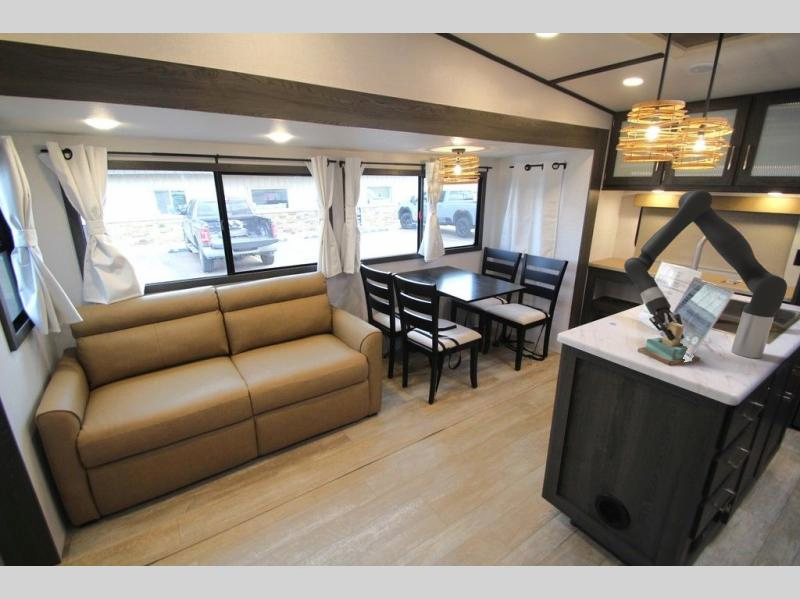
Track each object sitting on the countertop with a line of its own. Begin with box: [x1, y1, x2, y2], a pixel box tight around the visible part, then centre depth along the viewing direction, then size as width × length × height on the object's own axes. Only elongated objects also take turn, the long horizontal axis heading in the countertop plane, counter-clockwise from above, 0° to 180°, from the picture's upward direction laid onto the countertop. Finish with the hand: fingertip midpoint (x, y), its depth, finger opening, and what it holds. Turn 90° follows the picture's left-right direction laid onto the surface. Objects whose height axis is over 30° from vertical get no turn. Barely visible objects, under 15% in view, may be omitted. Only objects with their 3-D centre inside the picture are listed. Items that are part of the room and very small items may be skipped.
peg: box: [662, 322, 685, 347], centre depth 144 cm, size 4×4×10 cm
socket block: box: [637, 337, 701, 366], centre depth 145 cm, size 16×13×6 cm
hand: (677, 339), depth 142 cm, fingers closed on peg, 4 cm apart
